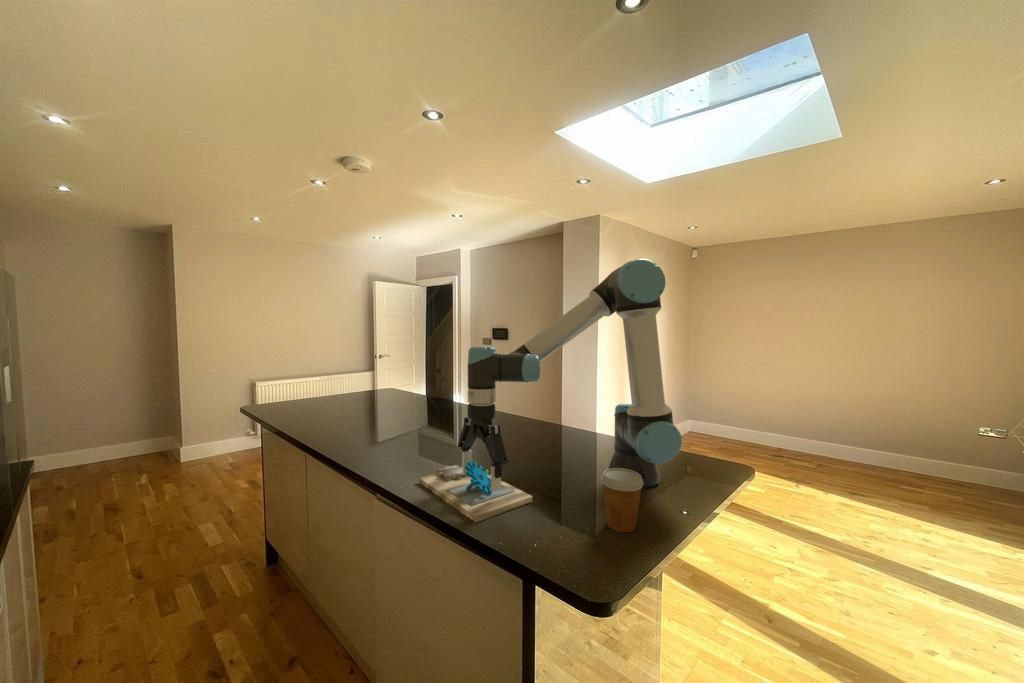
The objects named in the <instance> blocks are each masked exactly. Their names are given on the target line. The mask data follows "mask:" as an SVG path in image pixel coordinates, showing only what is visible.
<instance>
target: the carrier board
mask: <svg viewBox="0 0 1024 683" xmlns="http://www.w3.org/2000/svg"><path fill="white" fill-rule="evenodd" d="M488 478H491V474H489V475H488ZM471 479H472V478H471V477H468V476H467V475H463V466H459V464H454V465H451V466H450V465H447V464H446V465H443V467H442V468H438V469H437V470H436V473H433V474H429V475H425V476H421V477H419V478H418V483H419V482H420V483H421V484H423V485H424V486H425V487H424V486H423V485H422V486H423V487H424V488H426V487H427V488H428V489H427V488H426V489H427V490H429V489H430V490H431V491H432V493H433V492H434V493H435V494H434V493H433V494H434V495H435V496H437V495H438V496H439V497H438V496H437V497H438V498H439V499H441V498H442V499H441V500H443V501H444V502H445V503H447V504H448V503H449V504H448V505H450V506H451V505H452V506H451V507H452V508H454V509H455V508H456V510H457V511H458V510H459V511H458V512H460V513H461V514H463V515H464V516H465V515H466V516H465V517H467V518H468V517H469V518H468V519H469V520H471V521H472V520H473V522H474V523H479V522H481V521H483V520H487V519H489V518H492V517H495V516H498V515H501V514H503V513H505V512H508V511H511V510H513V509H517V508H519V507H522V506H524V505H527V504H529V503H530V504H531V503H533V495H531V494H529V493H527V492H525V491H523V490H521V489H519V488H517V487H515V486H513V485H511V484H509V483H507V482H505V481H504V480H503V481H502V480H501V488H500V489H497V490H494V491H493V492H492V493H490V494H489V493H487V494H484V493H483V490H484V489H483V487H482V489H481V490H480V491H479V490H478V489H477V488H476V487H477V486H478V484H477V485H476V484H475V485H474V486H473V487H472V488H471V489H470V490H469V491H468V490H467V489H466V487H467V486H468V485H469V484H471V482H470V480H471ZM420 483H419V484H420ZM421 484H420V485H421ZM430 490H429V491H430ZM431 491H430V492H431Z"/></svg>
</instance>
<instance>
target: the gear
mask: <svg viewBox="0 0 1024 683" xmlns="http://www.w3.org/2000/svg"><path fill="white" fill-rule="evenodd" d="M477 466H478V467H477ZM465 469H466V470H468V472H466V474H467V476H468V477H471V478H472V479H471V480H470V482H471V484H469V485H468V486H467V487H466V489H467V490H468V491H469V490H470V489H471V488H472V487H473V486H474V485H475V484H476V485H477V484H478V486H477V487H476V488H477V489H478V490H479V491H480V490H481V489H482V487H483V489H484V490H483V493H484V494H487V493H489V494H490V493H492V492H493V491H491V478H488V475H490V474H489V472H490V471H489V470H488V469H485V470H484V471H483V469H484V467H483V466H482V465H481V464H480V465H478V463H477V462H476V461H472V462H468V463H467V466H466V467H465Z"/></svg>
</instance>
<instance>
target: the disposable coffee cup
mask: <svg viewBox="0 0 1024 683" xmlns="http://www.w3.org/2000/svg"><path fill="white" fill-rule="evenodd" d="M600 479H601V482H602V486H603V493H604V504H605V512H606V514H605V515H606V522H607V527H608V528H610V529H612V530H613V531H616V532H618V533H632V532H633V531H635V529H636V525H637V518H638V513H639V512H638V511H639V506H640V499H641V491H642V489H643V487H642V486H643V484H644V482H643V480H642V477H641V475H640V474H639V473H637V472H635V471H632V470H629V469H623V468H611V469H608V468H607V469H605V470H604V471H603V472H602V475H601V477H600Z"/></svg>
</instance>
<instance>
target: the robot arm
mask: <svg viewBox="0 0 1024 683" xmlns="http://www.w3.org/2000/svg"><path fill="white" fill-rule="evenodd" d="M665 276H666V275H665V273H664V271H663V270H662V268H661V266H659V265H658V264H657V263H656V262H654V261H653V260H650V259H647V258H638V259H634V260H629V261H627V262H625V263H624V264H623V265H622V266H620V267H617V268H615V269H614V270H613V271H612V272H611V273H609V274H608V275H607V276H606V277H605V278H604V279H603V280H602V281H600V283H599V284H598V285H597V286H595V287H594V288H593V289H591V290H590V291H589V293H588V294H589V295H588V297H586V298H584V300H582V301H581V302H579V303H578V304H576V305H575V306H574V307H572V308H570V310H568V311H567V312H565V313H564V314H562V316H560V317H559V318H557V319H556V320H554V321H553V322H552V323H550V324H549V325H548V326H547V327H545V328H544V329H542V330H541V331H540V332H538V333H537V334H535V335H534V336H533V337H531V338H529V339H528V340H527V341H526V342H525V343H523V344H522V345H520V346H519V347H518V348H516V349H515V350H513V351H511V352H509V353H507V354H505V353H504V354H502V353H497V351H496V350H497V349H496V347H493V346H472V347H469V349H468V356H467V402H468V405H467V416H466V417H464V418H463V426H462V429H461V432H460V435H459V439H458V442H457V447H458V448H460V450H461V451H462V452H461V453H462V467H463V475H467V474H466V472H468V470H466V469H465V467H466V466H467V463H468V462H472V463H473V450H472V449H473V448H472V447H473V445H474V443H475V442H476V440H477V438H478V439H479V440H481V441H482V443H484V445H485V447H486V449H487V450H486V451H487V452H488V455H489V458H490V460H491V462H492V463H491V464H490V475H491V491H494V490H497V489H500V488H501V481H502V477H503V476H502V475H503V474H502V473H503V465H507V464H508V463H509V461H508V457H507V453H506V450H505V445H504V442H503V439H502V434H501V426H500V425H499V424H495V425H493V420H494V418H495V417H496V404H495V403H496V401H497V398H496V396H497V394H496V392H497V391H496V383H497V382H500V383H501V382H502V383H503V382H505V383H506V382H507V383H508V382H510V383H527V384H528V383H535V382H536V383H537V382H539V380H540V377H541V362H543V361H544V360H545V359H547V358H548V357H549V356H551V355H552V354H554V353H555V352H556V351H557V350H559V349H561V348H562V347H563V346H565V345H566V344H568V343H569V342H570V341H572V340H573V339H574V338H575V337H578V336H579V335H581V334H582V333H583V332H584V331H586V330H587V329H588V328H589V327H591V326H593V325H594V324H595V323H597V322H598V321H599V320H601V319H602V318H603V317H606V318H607V317H610V316H612V315H613V314H615V313H616V315H618V316H619V318H621V319H622V324H623V332H624V333H623V334H624V335H623V336H624V343H625V351H626V352H625V353H626V354H625V355H626V362H627V372H628V380H629V390H630V398H631V399H630V400H631V403H621V404H620V403H619V404H617V405H616V406H615V408H614V415H613V416H614V444H613V445H614V450H613V451H614V452H613V454H612V457H611V460H610V462H609V465H608V468H607V469H611V468H623V469H629V470H632V471H635V472H637V473H639V474H640V475H641V477H642V480H643V482H644V484H643V486H642V488H650V487H649V486H652V487H655V486H657V485H659V483H660V471H659V469H658V466H657V465H663V464H667V463H669V462H670V461H672V460H674V459H675V457H676V456H678V454H679V453H680V450H681V449H682V446H683V439H682V435H681V433H680V430H679V429H678V428H677V427H676V426H675V425H674V420H673V419H674V418H673V410H672V408H671V407H670V406H669V405H668V404H667V403H666V400H665V399H666V398H665V392H664V381H663V373H662V372H663V371H662V364H661V363H662V362H661V354H660V353H661V352H660V344H659V343H660V342H659V334H658V323H657V314H658V313H659V312H660V311H661V309H662V304H661V296H662V295H663V293H664V291H665V287H666V277H665ZM656 484H657V485H656ZM654 485H655V486H654Z"/></svg>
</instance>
